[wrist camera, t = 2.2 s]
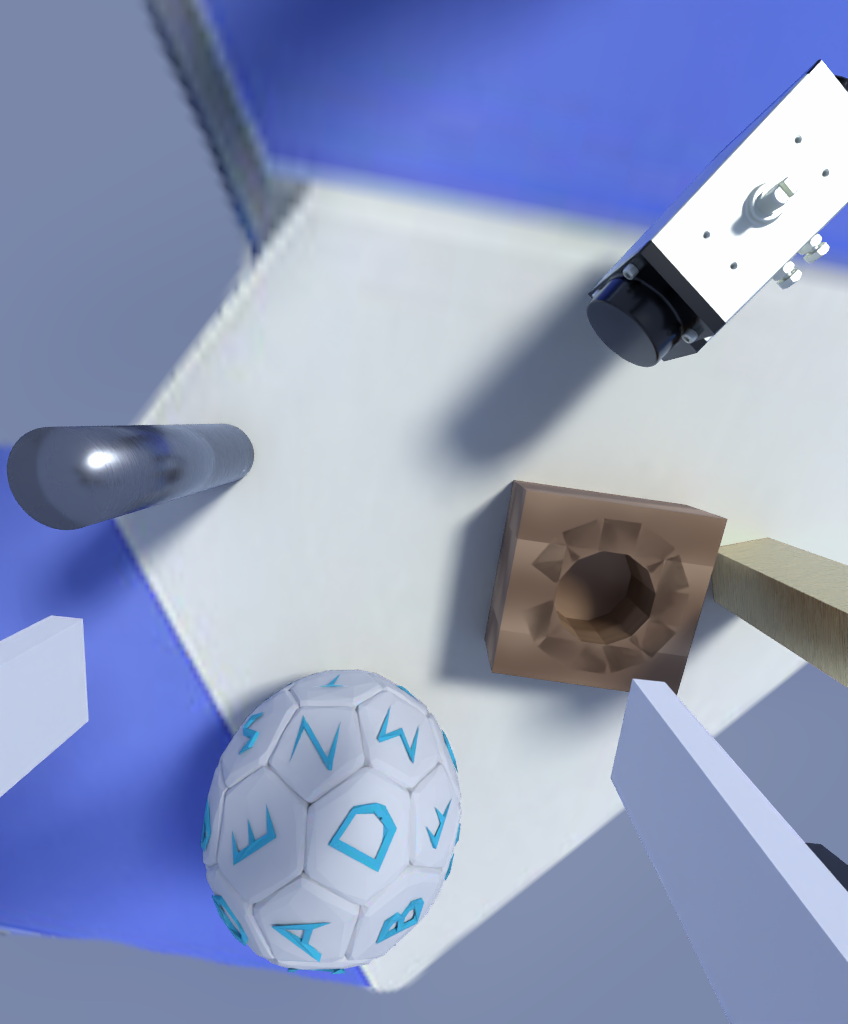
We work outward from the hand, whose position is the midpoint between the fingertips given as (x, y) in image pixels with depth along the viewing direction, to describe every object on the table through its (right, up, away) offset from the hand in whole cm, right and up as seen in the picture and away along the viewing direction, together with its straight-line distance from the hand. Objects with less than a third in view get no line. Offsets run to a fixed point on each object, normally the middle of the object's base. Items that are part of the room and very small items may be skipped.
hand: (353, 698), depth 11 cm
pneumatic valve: (+16, +18, +18) cm, 30 cm away
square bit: (+24, 0, +21) cm, 32 cm away
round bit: (-12, +9, +20) cm, 25 cm away
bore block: (+13, 0, +21) cm, 25 cm away
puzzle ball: (-3, -12, +24) cm, 27 cm away
